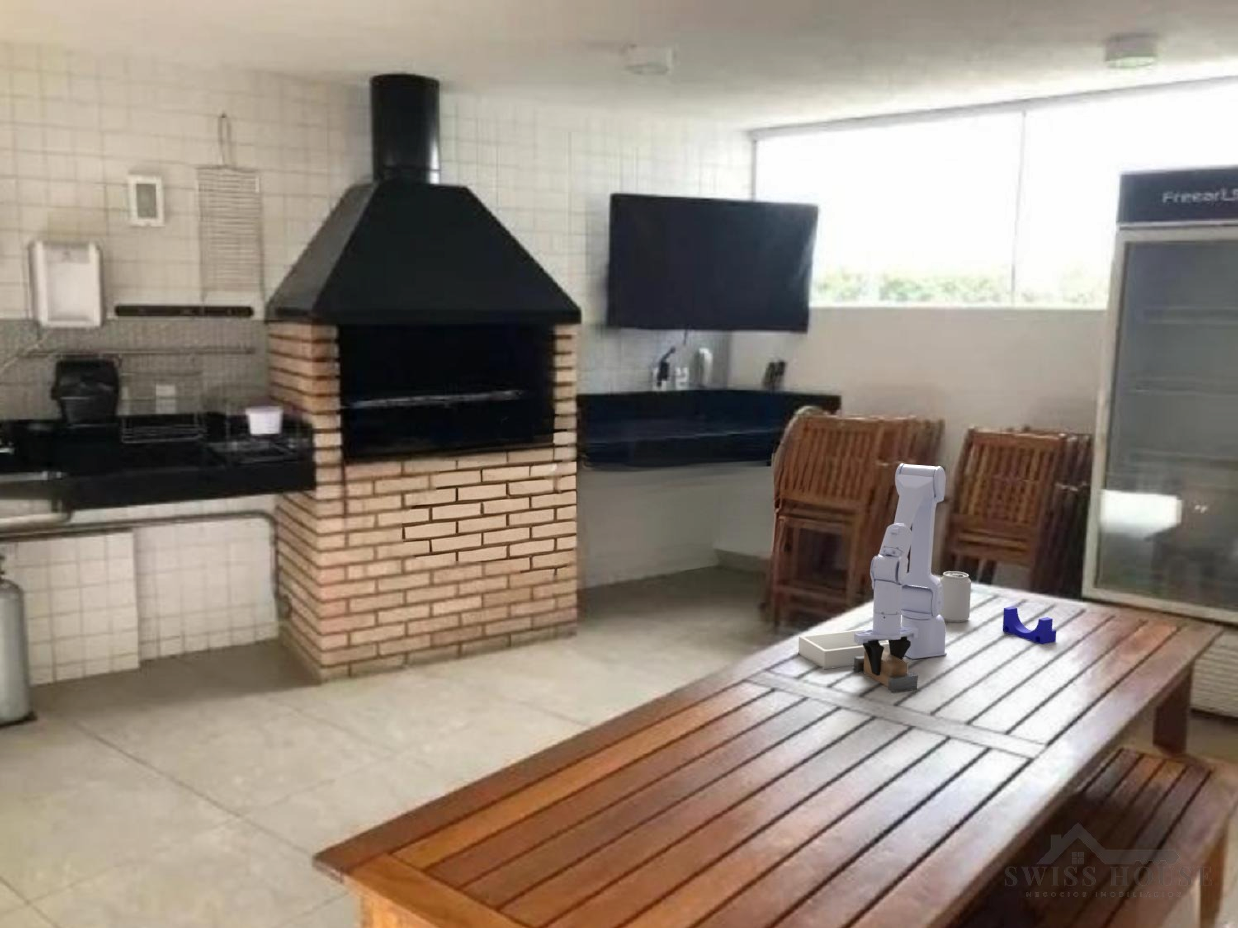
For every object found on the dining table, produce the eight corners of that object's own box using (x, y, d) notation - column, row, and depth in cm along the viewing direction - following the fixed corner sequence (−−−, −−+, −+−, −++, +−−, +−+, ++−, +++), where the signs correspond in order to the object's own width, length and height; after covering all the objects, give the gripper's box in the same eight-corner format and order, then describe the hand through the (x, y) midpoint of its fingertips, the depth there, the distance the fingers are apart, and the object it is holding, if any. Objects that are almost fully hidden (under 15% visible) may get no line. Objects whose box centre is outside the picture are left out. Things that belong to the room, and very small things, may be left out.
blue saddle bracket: (1055, 642, 249) (1057, 617, 248) (1042, 645, 247) (1043, 620, 246) (1015, 629, 260) (1016, 605, 259) (1002, 631, 258) (1003, 608, 257)
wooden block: (879, 670, 229) (880, 648, 228) (906, 685, 219) (907, 662, 219) (863, 672, 227) (864, 650, 227) (890, 688, 218) (891, 665, 217)
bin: (864, 645, 247) (865, 628, 246) (893, 660, 236) (893, 643, 235) (798, 652, 241) (798, 636, 240) (824, 668, 230) (824, 651, 230)
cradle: (877, 666, 231) (878, 653, 231) (917, 689, 217) (917, 675, 217) (853, 669, 229) (854, 656, 229) (892, 692, 216) (892, 678, 215)
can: (973, 623, 264) (975, 577, 262) (943, 623, 264) (945, 576, 263) (964, 614, 271) (966, 569, 270) (935, 614, 272) (937, 569, 270)
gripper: (867, 619, 215) (865, 682, 217) (927, 612, 220) (925, 674, 222) (849, 610, 222) (847, 671, 224) (908, 604, 227) (905, 664, 228)
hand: (885, 672), depth 223 cm, fingers closed on wooden block, 4 cm apart
